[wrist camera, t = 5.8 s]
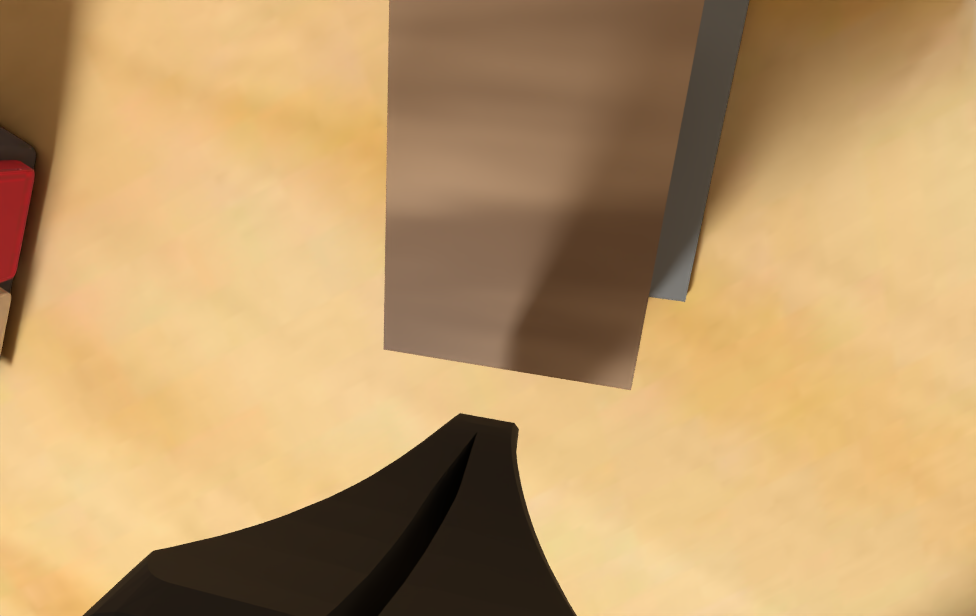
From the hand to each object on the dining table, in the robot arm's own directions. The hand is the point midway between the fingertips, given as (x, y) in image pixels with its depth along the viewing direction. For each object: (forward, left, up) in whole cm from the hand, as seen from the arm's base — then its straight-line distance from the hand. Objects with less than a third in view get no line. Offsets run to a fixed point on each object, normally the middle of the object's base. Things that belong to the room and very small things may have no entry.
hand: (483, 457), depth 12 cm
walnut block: (+1, 0, -4) cm, 4 cm away
